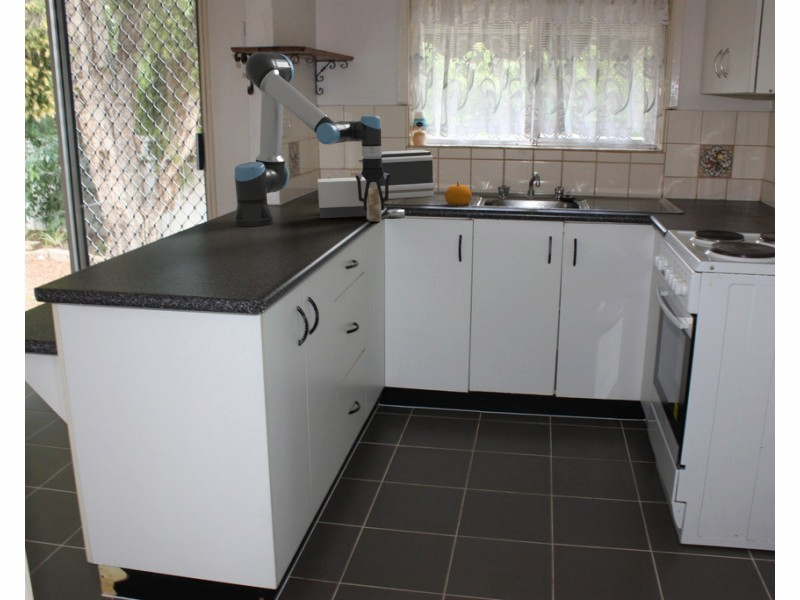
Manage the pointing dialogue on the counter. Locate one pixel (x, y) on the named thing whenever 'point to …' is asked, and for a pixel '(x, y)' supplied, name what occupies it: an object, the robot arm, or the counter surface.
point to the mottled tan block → (373, 204)
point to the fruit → (458, 195)
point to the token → (395, 213)
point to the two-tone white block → (341, 197)
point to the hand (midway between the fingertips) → (374, 218)
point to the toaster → (407, 173)
